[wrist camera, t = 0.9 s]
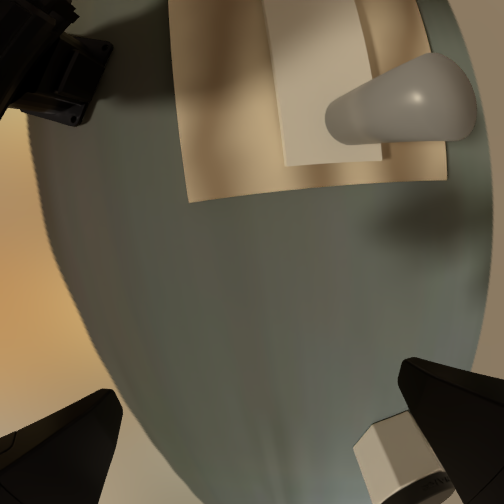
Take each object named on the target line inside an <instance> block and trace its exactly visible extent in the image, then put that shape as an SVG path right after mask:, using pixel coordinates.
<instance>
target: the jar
mask: <svg viewBox="0 0 504 504" xmlns="http://www.w3.org/2000/svg"><path fill="white" fill-rule="evenodd" d="M353 450H354V453H355V455H356V458H357V461H358V464H359V467H360V469H361V472H362V475H363V478H364V481H365V483H366V486H367V489H368V492H369V495H370V498H371V501H372V503H373V504H441V503H442V502H444V501H445V500H446V499H447V498H449V497H450V496H451V494H453V492H454V491H455V487H454V486H453V484H452V482H451V480H450V479H449V477H448V475H447V473H446V472H445V470H444V468H443V466H442V465H441V463H440V461H439V460H438V458H437V456H436V454H435V453H434V451H433V449H432V448H431V446H430V444H429V443H428V441H427V439H426V438H425V436H424V435H423V433H422V431H421V430H420V428H419V426H418V425H417V423H416V421H415V420H414V418H413V416H412V415H411V414H410V413H409V412H408V411H406V412H403V413H401V414H398V415H396V416H393V417H391V418H388V419H385V420H383V421H380V422H377V423H374V424H372V425H371V426H370V428H369V429H368V430H367V431H366V432H365V434H364V435H363V436H362V437H361V438H360V440H359V441H358V442H357V443H356V444H355V445H354V447H353Z"/></svg>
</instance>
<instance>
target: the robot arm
mask: <svg viewBox="0 0 504 504" xmlns="http://www.w3.org/2000/svg"><path fill="white" fill-rule="evenodd" d="M71 2H72V0H0V120H1V118H2V116H3V115H4V113H5V111H6V109H7V108H14V109H20V110H21V112H24V113H27V114H31V115H34V116H38V117H42V118H45V119H49V120H52V121H55V122H59V123H62V124H65V125H69V126H73V127H76V126H78V125H80V123H81V121H82V119H83V116H84V113H85V111H86V108H87V106H88V103H89V101H91V99H92V97H93V94H94V92H95V90H96V87H97V85H98V83H99V80H100V78H101V76H102V74H103V72H104V70H105V68H104V67H105V65H106V63H107V60H108V58H109V56H110V54H111V53H112V51H113V45H112V44H111V43H110V42H108V41H102V40H95V39H88V38H80V37H72V36H71V35H69V34H67V33H66V32H64V31H65V29H66V28H67V27H68V26H69V25H70V24H71V23H74V22H75V21H76V20H77V19H78V18H79V17H80V16H78V15H77V14H76V13H75V12H73V11H74V10H75V9H76V8H75V7H74V6H73V5H71ZM107 46H108V49H107V50H105V51H104V49H105V47H107ZM75 117H76V118H77V119H76V121H75V122H74V121H73V120H74V118H75ZM398 386H399V388H400V390H401V393H402V395H403V397H404V399H405V401H406V403H407V405H408V408H409V410H410V412H411V414H412V416H413V418H414V420H415V421H416V423H417V425H418V426H419V428H420V430H421V431H422V433H423V435H424V436H425V438H426V439H427V441H428V443H429V444H430V446H431V448H432V449H433V451H434V453H435V454H436V456H437V458H438V460H439V461H440V463H441V465H442V466H443V468H444V470H445V472H446V473H447V475H448V477H449V479H450V480H451V482H452V484H453V486H454V487H455V489H456V491H457V493H458V494H459V496H460V498H461V500H462V502H463V503H464V504H504V380H503V379H499V378H494V377H490V376H486V375H482V374H477V373H473V372H469V371H465V370H461V369H457V368H454V367H450V366H446V365H442V364H438V363H435V362H431V361H427V360H424V359H420V358H417V357H411V358H408V359H405V360H403V362H402V364H401V368H400V372H399V376H398ZM122 415H123V409H122V406H121V404H120V402H119V400H118V398H117V396H116V394H115V392H114V391H113V390H112V389H100V390H98V391H96V392H94V393H92V394H90V395H88V396H86V397H84V398H82V399H81V400H79V401H77V402H75V403H73V404H71V405H69V406H67V407H65V408H63V409H61V410H59V411H57V412H55V413H53V414H51V415H49V416H47V417H45V418H43V419H41V420H39V421H37V422H34V423H32V424H30V425H28V426H26V427H24V428H22V429H20V430H18V431H17V432H16V431H15V432H12V433H10V434H8V435H6V436H3V437H1V438H0V504H98V502H99V498H100V495H101V492H102V489H103V486H104V482H105V479H106V476H107V473H108V470H109V467H110V463H111V461H112V458H113V455H114V451H115V448H116V444H117V439H118V435H119V430H120V425H121V420H122Z"/></svg>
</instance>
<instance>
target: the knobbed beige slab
mask: <svg viewBox="0 0 504 504" xmlns="http://www.w3.org/2000/svg"><path fill="white" fill-rule="evenodd" d="M261 3H262V8H263V14H264V20H265V26H266V32H267V38H268V44H269V51H270V57H271V64H272V71H273V78H274V85H275V92H276V99H277V107H278V115H279V122H280V131H281V139H282V147H283V156H284V165H285V166H287V167H288V166H300V165H312V164H326V163H342V162H364V161H382V151H381V143H392V142H416V141H458V140H462V139H464V138H465V137H467V136H468V135H469V134H470V133H471V131H472V129H473V127H474V125H475V122H476V117H477V104H476V98H475V94H474V91H473V88H472V85H471V83H470V81H469V79H468V78H467V76H466V75H465V73H464V72H463V70H462V69H461V68H460V67H459V66H458V65H457V64H456V63H455V62H454V61H452V60H451V59H450V58H448V57H446V56H444V55H442V54H439V53H426V54H423V55H421V56H419V57H416V58H414V59H412V60H410V61H408V62H406V63H404V64H402V65H400V66H398V67H396V68H393V69H391V70H389V71H387V72H385V73H384V74H382V75H380V76H378V77H376V78H374V79H372V75H371V69H370V64H369V59H368V54H367V49H366V45H365V40H364V36H363V32H362V28H361V24H360V20H359V16H358V12H357V8H356V5H355V1H354V0H261Z"/></svg>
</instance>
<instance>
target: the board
mask: <svg viewBox="0 0 504 504" xmlns="http://www.w3.org/2000/svg"><path fill="white" fill-rule="evenodd" d="M354 1H355V5H356V8H357V12H358V16H359V20H360V24H361V28H362V32H363V36H364V40H365V45H366V49H367V54H368V59H369V64H370V69H371V75H372V79H374V78H376V77H378V76H380V75H382V74H384V73H385V72H387V71H389V70H391V69H393V68H396V67H398V66H400V65H402V64H404V63H406V62H408V61H410V60H412V59H414V58H416V57H419V56H421V55H423V54H426V53H431V51H430V47H429V43H428V39H427V35H426V32H425V28H424V25H423V21H422V18H421V15H420V12H419V9H418V6H417V3H416V0H354ZM168 7H169V26H170V42H171V55H172V67H173V79H174V89H175V99H176V109H177V118H178V126H179V135H180V143H181V150H182V158H183V165H184V173H185V180H186V186H187V193H188V200H189V203H191V202H198V201H205V200H212V199H219V198H226V197H234V196H241V195H249V194H258V193H266V192H275V191H284V190H294V189H304V188H315V187H326V186H338V185H351V184H366V183H383V182H403V181H429V180H447V163H446V147H445V141H416V142H392V143H381V151H382V161H364V162H342V163H326V164H312V165H300V166H288V167H287V166H285V165H284V156H283V147H282V139H281V131H280V122H279V115H278V107H277V99H276V92H275V85H274V78H273V71H272V64H271V57H270V51H269V44H268V38H267V32H266V26H265V20H264V14H263V8H262V3H261V0H168Z"/></svg>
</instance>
